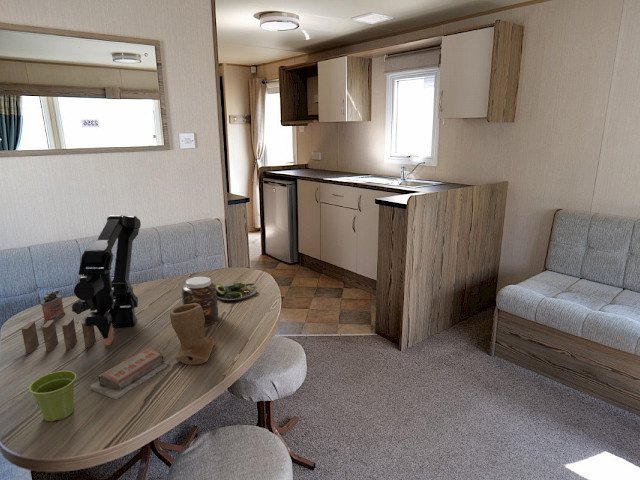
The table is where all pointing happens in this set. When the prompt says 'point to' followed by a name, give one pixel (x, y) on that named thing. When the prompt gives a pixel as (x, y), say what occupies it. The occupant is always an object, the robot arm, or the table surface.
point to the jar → (202, 297)
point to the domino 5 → (109, 337)
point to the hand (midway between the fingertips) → (108, 333)
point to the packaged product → (129, 373)
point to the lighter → (52, 306)
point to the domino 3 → (69, 333)
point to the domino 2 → (50, 335)
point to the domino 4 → (88, 334)
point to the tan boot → (191, 334)
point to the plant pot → (55, 394)
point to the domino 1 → (30, 337)
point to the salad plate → (233, 292)
